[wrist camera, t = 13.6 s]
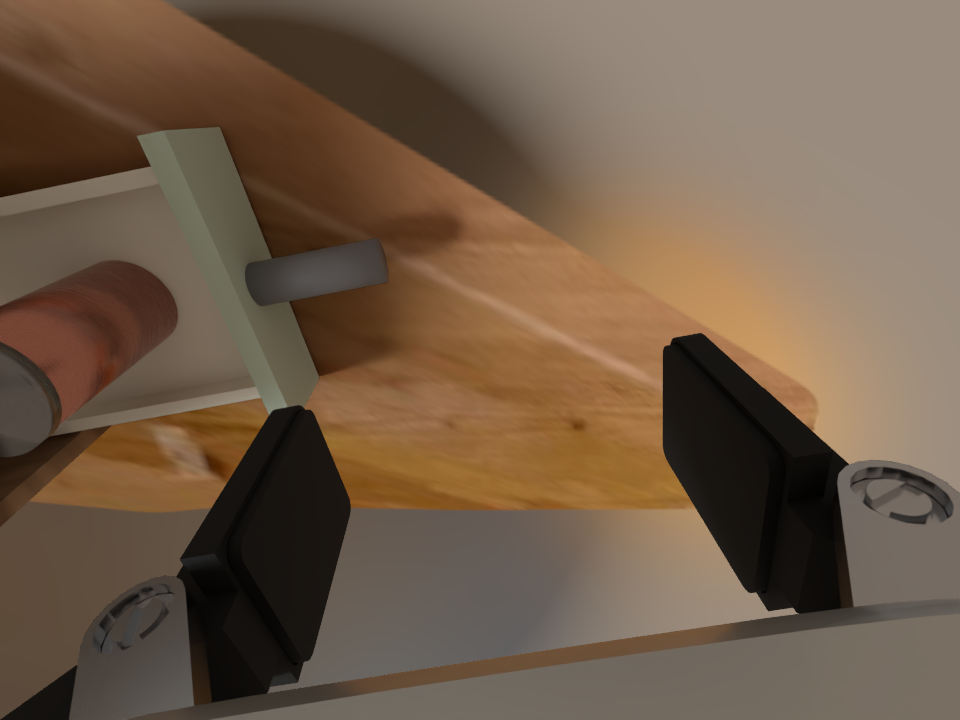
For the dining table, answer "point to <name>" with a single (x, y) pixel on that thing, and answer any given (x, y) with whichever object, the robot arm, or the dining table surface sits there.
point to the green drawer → (184, 277)
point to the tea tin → (74, 345)
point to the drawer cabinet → (39, 468)
